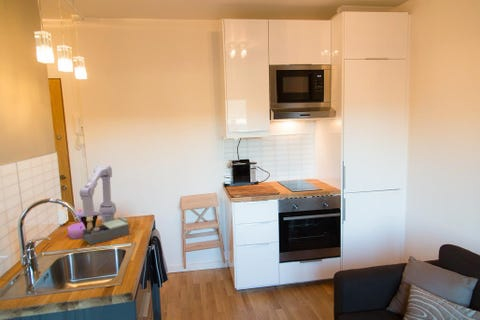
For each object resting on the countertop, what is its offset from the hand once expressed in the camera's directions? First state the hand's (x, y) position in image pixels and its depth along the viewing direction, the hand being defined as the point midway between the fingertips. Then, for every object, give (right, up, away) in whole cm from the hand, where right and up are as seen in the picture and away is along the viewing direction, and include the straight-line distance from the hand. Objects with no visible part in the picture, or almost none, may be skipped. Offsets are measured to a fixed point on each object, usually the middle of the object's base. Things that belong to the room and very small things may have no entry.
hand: (90, 227), depth 189 cm
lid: (+11, 0, +12) cm, 16 cm away
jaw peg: (0, -2, 0) cm, 2 cm away
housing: (+6, -8, +8) cm, 13 cm away
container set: (-15, -7, +18) cm, 25 cm away
